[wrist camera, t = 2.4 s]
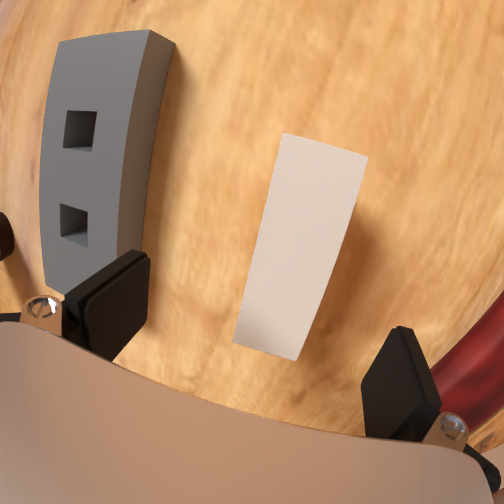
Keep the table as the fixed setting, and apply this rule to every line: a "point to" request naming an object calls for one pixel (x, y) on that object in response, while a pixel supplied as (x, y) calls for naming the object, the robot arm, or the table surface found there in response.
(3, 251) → the coffee mug
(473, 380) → the hardcover book
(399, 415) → the robot arm
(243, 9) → the table surface
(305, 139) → the two-legged white block
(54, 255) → the gray rectangular slab
